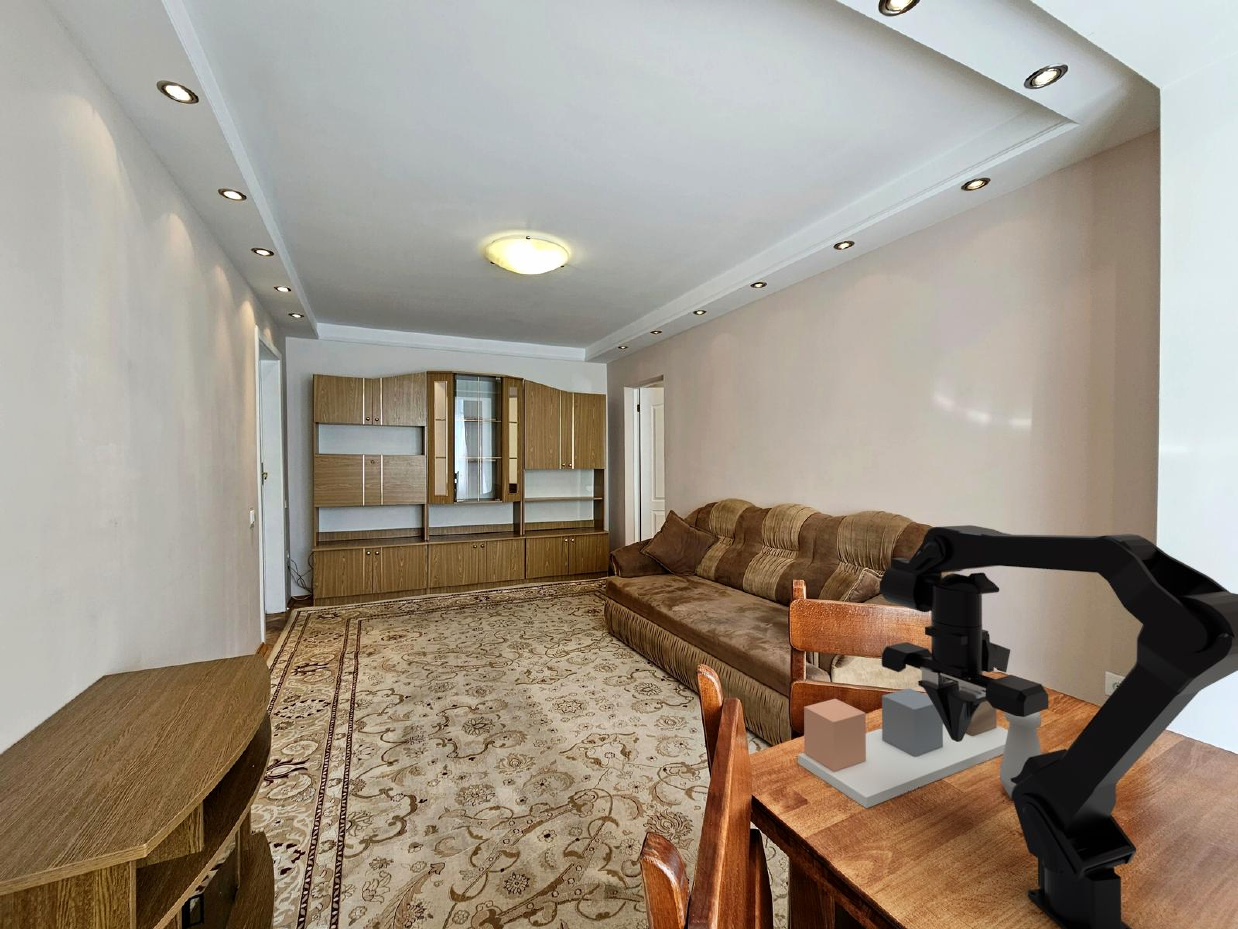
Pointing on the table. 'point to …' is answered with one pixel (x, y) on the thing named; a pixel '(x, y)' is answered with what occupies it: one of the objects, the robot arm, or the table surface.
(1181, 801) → the table surface
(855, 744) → the terracotta block
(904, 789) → the grey base board
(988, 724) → the walnut block
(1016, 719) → the salt shaker
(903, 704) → the dark slate block
